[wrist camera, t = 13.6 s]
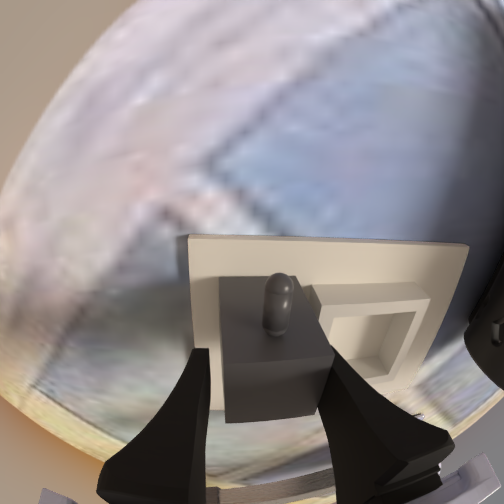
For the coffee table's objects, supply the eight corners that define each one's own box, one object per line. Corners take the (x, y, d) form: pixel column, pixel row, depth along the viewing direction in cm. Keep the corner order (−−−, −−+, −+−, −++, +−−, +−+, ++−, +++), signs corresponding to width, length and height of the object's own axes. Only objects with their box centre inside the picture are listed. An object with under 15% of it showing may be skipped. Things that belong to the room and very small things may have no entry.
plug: (301, 228, 14) (351, 295, 9) (287, 333, 17) (314, 414, 11) (218, 228, 14) (222, 301, 8) (219, 336, 16) (225, 423, 11)
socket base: (464, 243, 16) (487, 260, 14) (404, 384, 22) (415, 404, 19) (189, 234, 14) (181, 256, 12) (202, 403, 20) (201, 430, 18)
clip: (198, 423, 20) (195, 509, 13) (341, 386, 19) (374, 474, 12) (208, 434, 21) (208, 514, 14) (344, 399, 20) (373, 481, 13)
